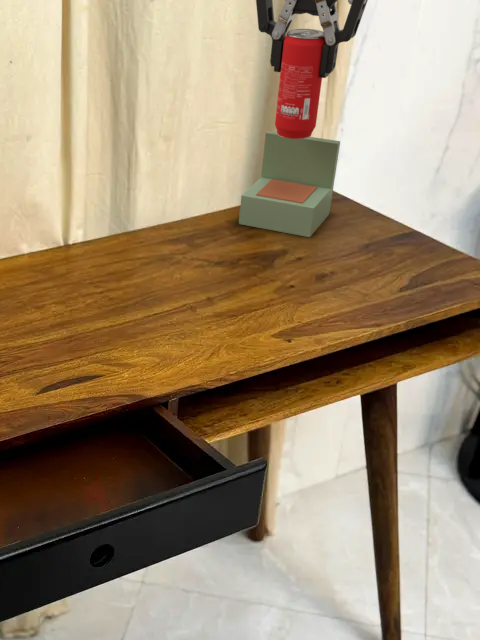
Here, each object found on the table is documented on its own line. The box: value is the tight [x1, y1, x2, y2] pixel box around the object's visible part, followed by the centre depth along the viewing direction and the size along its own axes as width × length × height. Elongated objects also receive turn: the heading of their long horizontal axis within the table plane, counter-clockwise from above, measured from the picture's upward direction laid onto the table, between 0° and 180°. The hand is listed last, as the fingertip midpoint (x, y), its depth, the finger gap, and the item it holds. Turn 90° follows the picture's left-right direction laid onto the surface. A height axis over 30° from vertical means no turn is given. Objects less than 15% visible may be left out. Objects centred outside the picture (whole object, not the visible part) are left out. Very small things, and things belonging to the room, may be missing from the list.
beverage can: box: [274, 28, 326, 139], centre depth 124 cm, size 5×5×12 cm
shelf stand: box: [238, 130, 341, 238], centre depth 132 cm, size 10×9×10 cm
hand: (301, 72), depth 123 cm, fingers closed on beverage can, 5 cm apart
